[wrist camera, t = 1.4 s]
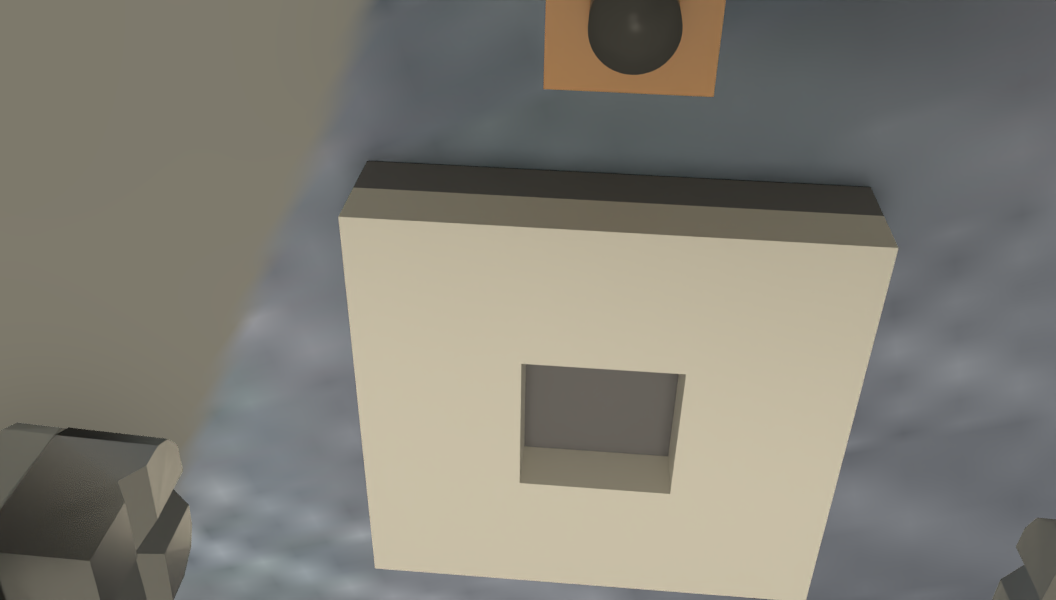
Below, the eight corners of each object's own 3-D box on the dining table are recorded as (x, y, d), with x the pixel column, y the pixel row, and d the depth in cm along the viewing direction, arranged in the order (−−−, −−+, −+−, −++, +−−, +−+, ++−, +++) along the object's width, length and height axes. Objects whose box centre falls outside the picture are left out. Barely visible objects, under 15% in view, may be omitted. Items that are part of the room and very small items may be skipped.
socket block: (870, 187, 32) (898, 248, 29) (790, 525, 41) (805, 602, 38) (367, 161, 33) (338, 216, 30) (395, 496, 42) (375, 568, 39)
